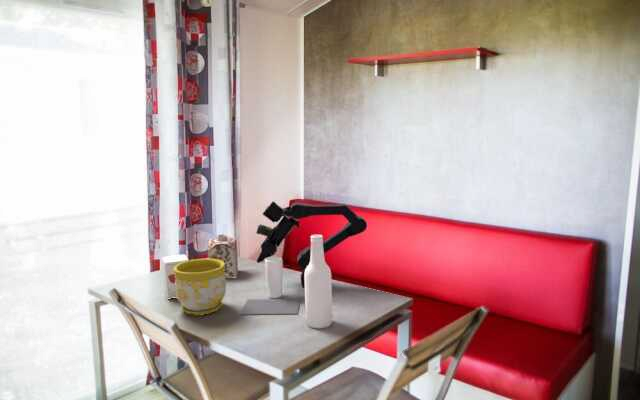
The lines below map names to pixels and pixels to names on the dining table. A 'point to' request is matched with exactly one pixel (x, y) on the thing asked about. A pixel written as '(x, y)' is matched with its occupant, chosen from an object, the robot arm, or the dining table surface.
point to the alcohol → (318, 287)
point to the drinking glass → (274, 276)
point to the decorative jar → (224, 253)
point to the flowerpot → (200, 285)
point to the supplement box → (171, 273)
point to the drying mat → (270, 307)
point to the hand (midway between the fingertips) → (259, 259)
